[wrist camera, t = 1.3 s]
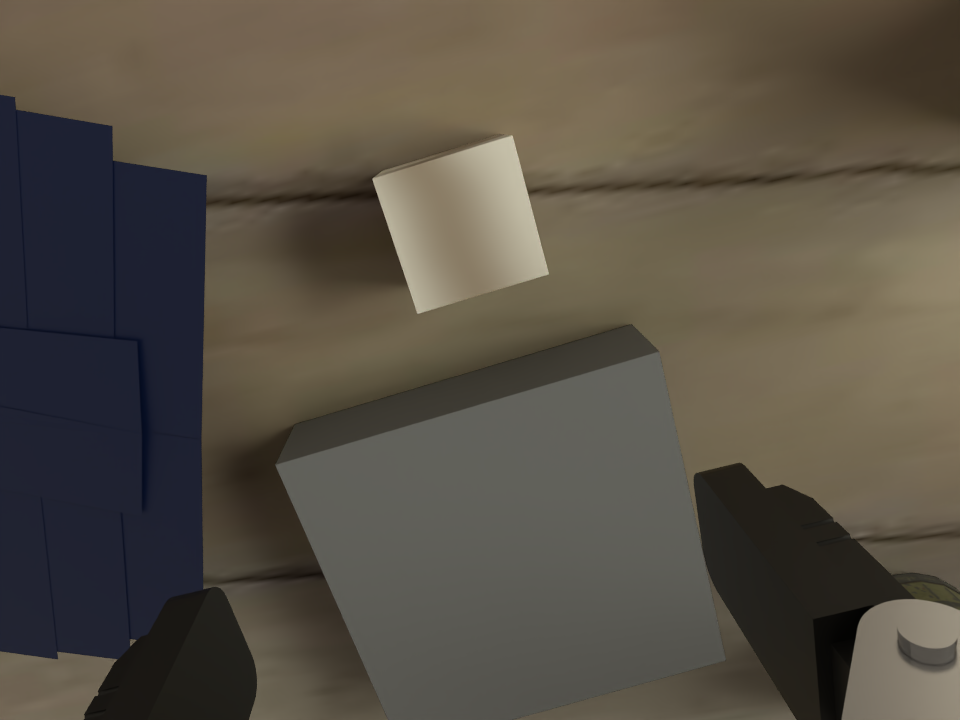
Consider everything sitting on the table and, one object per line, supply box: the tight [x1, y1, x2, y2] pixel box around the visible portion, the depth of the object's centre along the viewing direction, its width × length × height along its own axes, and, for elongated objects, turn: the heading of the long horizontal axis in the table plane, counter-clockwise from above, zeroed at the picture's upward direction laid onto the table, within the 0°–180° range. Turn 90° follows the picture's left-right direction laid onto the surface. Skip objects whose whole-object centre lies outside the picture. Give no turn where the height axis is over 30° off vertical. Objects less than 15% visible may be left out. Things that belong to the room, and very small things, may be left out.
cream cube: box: [372, 134, 549, 314], centre depth 26 cm, size 5×5×5 cm
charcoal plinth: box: [275, 324, 726, 720], centre depth 32 cm, size 16×16×4 cm
